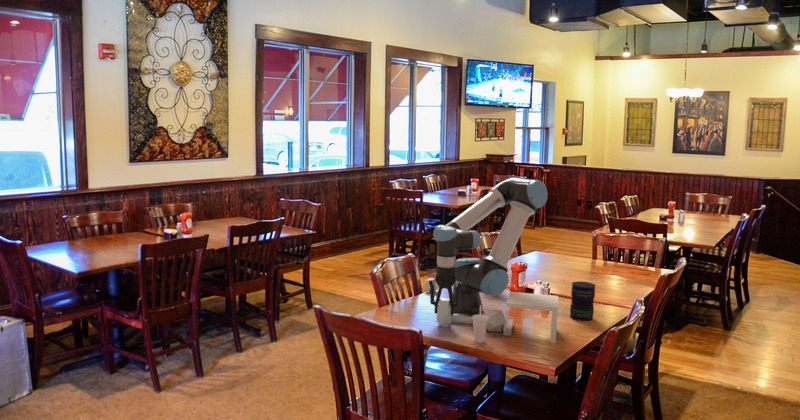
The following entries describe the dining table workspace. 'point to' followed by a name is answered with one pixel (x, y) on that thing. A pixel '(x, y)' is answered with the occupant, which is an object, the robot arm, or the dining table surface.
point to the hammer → (464, 317)
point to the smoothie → (479, 327)
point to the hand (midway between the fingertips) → (443, 321)
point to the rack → (536, 306)
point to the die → (495, 320)
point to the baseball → (427, 285)
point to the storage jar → (582, 301)
